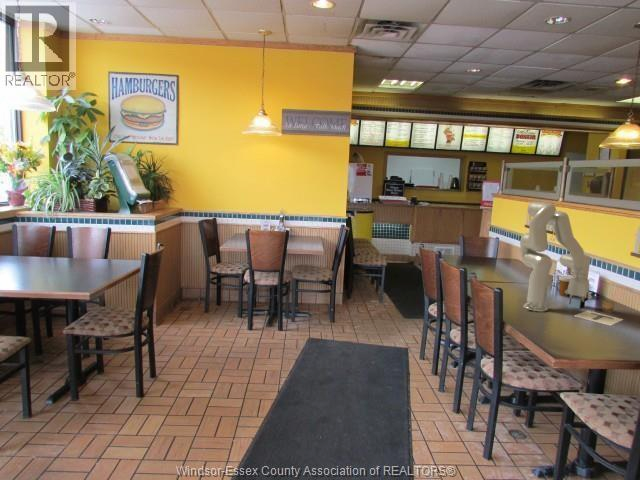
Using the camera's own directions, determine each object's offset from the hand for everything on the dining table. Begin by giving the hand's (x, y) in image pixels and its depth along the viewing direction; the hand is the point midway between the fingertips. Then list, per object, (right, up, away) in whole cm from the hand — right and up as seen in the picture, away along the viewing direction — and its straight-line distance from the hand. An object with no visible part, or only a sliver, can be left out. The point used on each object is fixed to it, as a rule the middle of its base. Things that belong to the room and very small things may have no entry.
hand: (576, 306), depth 261 cm
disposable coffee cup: (+7, +3, +26) cm, 27 cm away
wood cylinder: (+13, -2, -7) cm, 15 cm away
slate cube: (0, -1, 0) cm, 1 cm away
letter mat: (0, -4, -20) cm, 20 cm away
